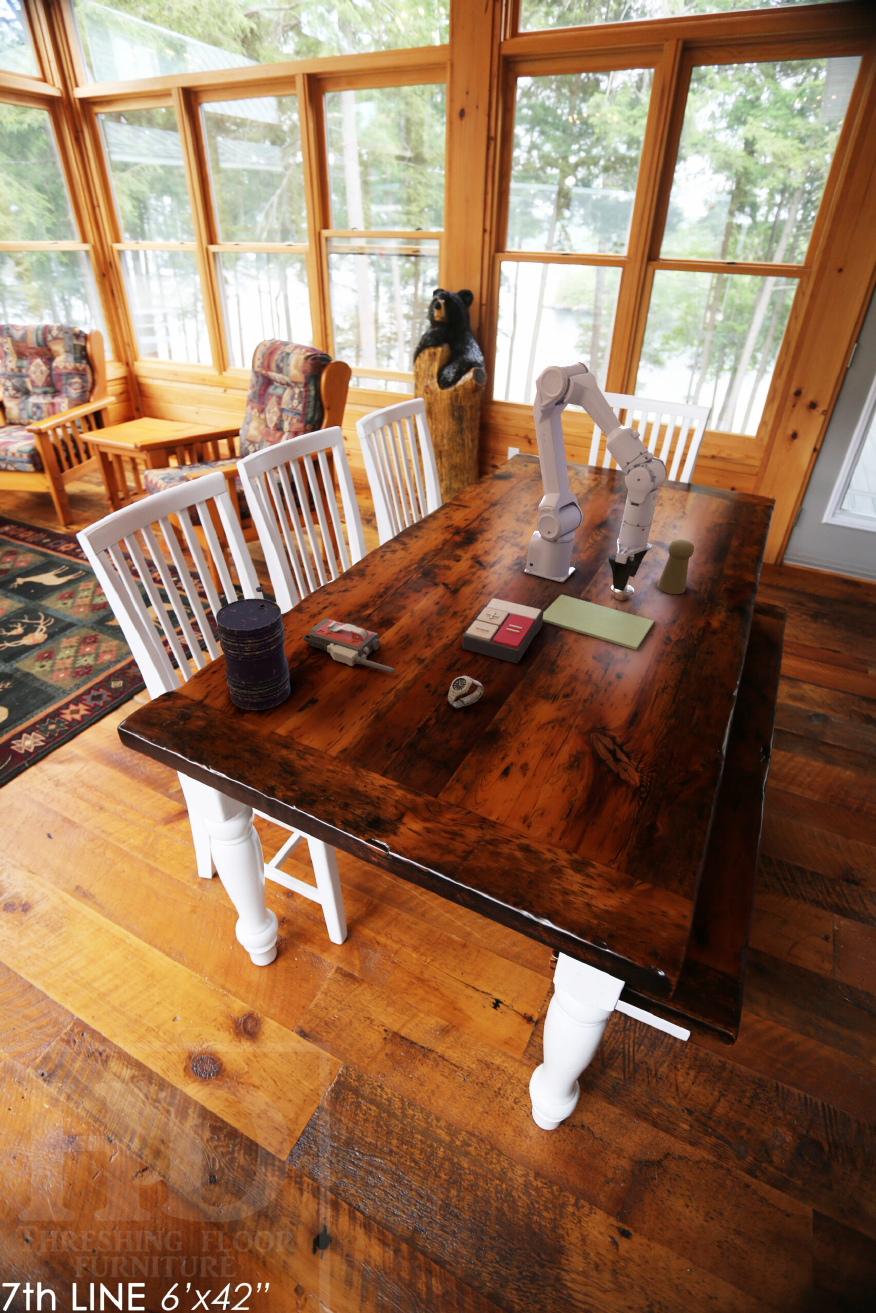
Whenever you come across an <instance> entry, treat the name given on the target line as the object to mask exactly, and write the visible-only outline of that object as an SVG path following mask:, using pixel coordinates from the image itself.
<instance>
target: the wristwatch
mask: <svg viewBox="0 0 876 1313" xmlns="http://www.w3.org/2000/svg"><path fill="white" fill-rule="evenodd" d="M473 684H474V685H475V686H477V688H476V690H475V691H474V692H472V693H471V694H469V695H467V696H465V697H460V698H459V699H458V700H457V701H455V700H456V699H457V698H458V697H459V696H461V695H465V694H467V693H468V691H469V689H470V687H471V686H472V685H473ZM484 690H485V688H484V686H483V684H482V683H481V682H480V681H478V680H475V679H474V678H471V676H468V675H462V676H459V677H456V678H455V679H453V681H452V683H451V684H450V687H449V691H448V693H447V694H448V695H447V701H448V703H449V704H450V706H452V708H454V709H460V708H461V709H462V708H463V707H467V706H471V705H472V704H475V703H476V702H478V701H479V699H480V698H481V697H482V695H483V693H484V692H485V691H484Z"/></svg>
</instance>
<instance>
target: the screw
mask: <svg viewBox="0 0 876 1313" xmlns="http://www.w3.org/2000/svg"><path fill="white" fill-rule="evenodd" d="M633 557H634V554H633V555H631V556H630V557H629V559H630V560H631V561H633V559H634V558H633ZM630 579H631V576H630V577H629V579H628V582H627V585H626V587H625V589H624V590H623V591H621V590H617V589H614V588H613V584H612V585H611V586H610V590H611V592H612V593H614V598H615V599H616V600H619V601H626V600H628V597H629V596H631V595H633V594H635V589H634V587H633V586H632V585H630V584H629V583H630Z"/></svg>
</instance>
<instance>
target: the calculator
mask: <svg viewBox="0 0 876 1313" xmlns="http://www.w3.org/2000/svg"><path fill="white" fill-rule="evenodd" d="M544 612H545V611H544V610H542V609H540V608H536V607H532V606H528V605H523V604H519V603H515V602H511V601H507V600H503V599H498V598H491V599H489V601H488V602H487V603H486V605H485V606H484V607H483V609H481V611H480V612H479V614H478V615H477V617H476V618H475V619H474V620H473V621H472V623H471V624H470V625H469V626H468V628H467V629H466V631H464V632H463V634H462V643H461V644H462V645H461V646H462V647H461V648H462V649H463V650H466V651H469V652H473V653H476V654H480V655H484V656H487V657H491V658H495V659H497V660H502V661H505V662H509V663H513V664H518V663H519V662H520V661H521V659H522V657H523V656H524V654H525V652H526V651H527V649H528V647H530V645H531V643H532V642H533V640H534V638H535V636H537V635H538V633H539V632H540V630H541V629H542V626H543V613H544Z"/></svg>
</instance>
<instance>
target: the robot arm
mask: <svg viewBox="0 0 876 1313" xmlns="http://www.w3.org/2000/svg"><path fill="white" fill-rule="evenodd" d="M535 387H536V393H535V397H534V401H533V406H532V417H533V424H534V430H535V437H536V445H537V452H538V459H539V466H540V474H541V480H542V488H543V497H542V499H541V501H540V502H539V505H538V507H537V509H538V518H537V520H536V528H537V530H535V531H534V532H533V533H532V535H531V537H530V539H529V542H528V547H527V555H526V556H527V557H526V565H525V569H524V573H525V574H528V575H533V576H537V577H540V578H543V579H547V580H552V581H554V582H558V583H564V582H565V581H566V580H567V579H568V578H569V577H570V576H571V575H572V574H573V573H574V572H575V571H576V568H575V567H572V566H571V561H572V555H573V549H574V542H575V536H576V532H577V531H576V530H577V529H578V528H580V527H581V525H582V524H583V521H584V514H583V510H582V509H581V507H580V505H579V502H578V497H577V495H576V494H575V493H574V492H572V490H571V488H570V480H569V473H568V465H567V456H566V448H565V442H564V441H565V440H564V432H563V431H564V430H563V425H562V424H563V423H562V417H561V416H562V413H563V412H564V411H565V409H566V408H567V406H568V405H573V406H579V407H581V408H582V409H583V410H584V411H585V412H586V413H587V415H588V416H589V417H590V418H591V419H592V421H593V423H594V424H595V425H596V426H597V427H598V428H599V430H600V431H601V432H602V433H603V434H604V435H605V437H606V444H605V447H606V450H608V452H609V454H610V455H611V456H612V458H613V459H614V461H615V462H616V463H617V465H618V466H619V467H620V470H622V472H623V474H625V476H624V483H625V486H626V489H627V495H626V499H625V504H624V510H623V515H622V520H621V524H620V528H619V529H620V530H619V534H618V538H617V540H616V549H617V551H616V554H610V555H609V557H608V563H609V566H610V569H611V572H612V585H613V588H614V589H617V590H621V591H623V590H624V589H625V587H626V585H627V582H628V579H629V580H630V578H631V577H632V578H635V577H636V575H637V573H638V570H639V568H640V566H641V564H642V561H643V560H644V559H645V556H646V554H647V553H648V552H649V551H651V550H653V548H654V547H653V546H654V545H653V544H652V543H649V537H650V532H651V529H652V528H651V527H652V525H653V519H654V514H655V510H656V506H657V500H658V495H659V492H660V488H659V487H660V486H662V485H663V484H664V483H665V481H666V480H667V476H668V469H667V466H666V464H665V462H664V460H663V459H662V458H659V457H656V456H655V455H654V454H653V452H650V451H649V450H648V448H647V447H646V445H645V444H644V443H643V442H642V440H641V439H640V438H639V437H641V434H640V433H639V431H638V429H637V430H634V429H633V428H632V427H631V426H624V425H622V423H621V422H620V419H619V418H618V417H617V416H616V414H615V412H614V410H613V409H612V407H611V405H610V404H609V403H608V400H607V399H606V397H605V396H604V394H603V392H602V391H601V389H600V388H599V386H598V383H597V379H596V376H595V375H594V374H593V372H591V371H590V369H589V367H588V365H586V363H584V361H581V360H572V361H570V362H566V363H559V364H552V365H551V364H550V365H547V367H545V368H544V369H543V370H542V371H541V373H540V374H539V375H538V377H537V379H536V380H535ZM633 554H634V557H633V558H634V559H633V561H631V560H630V559H629V557H630V556H631V555H633ZM629 577H630V578H629Z"/></svg>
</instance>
